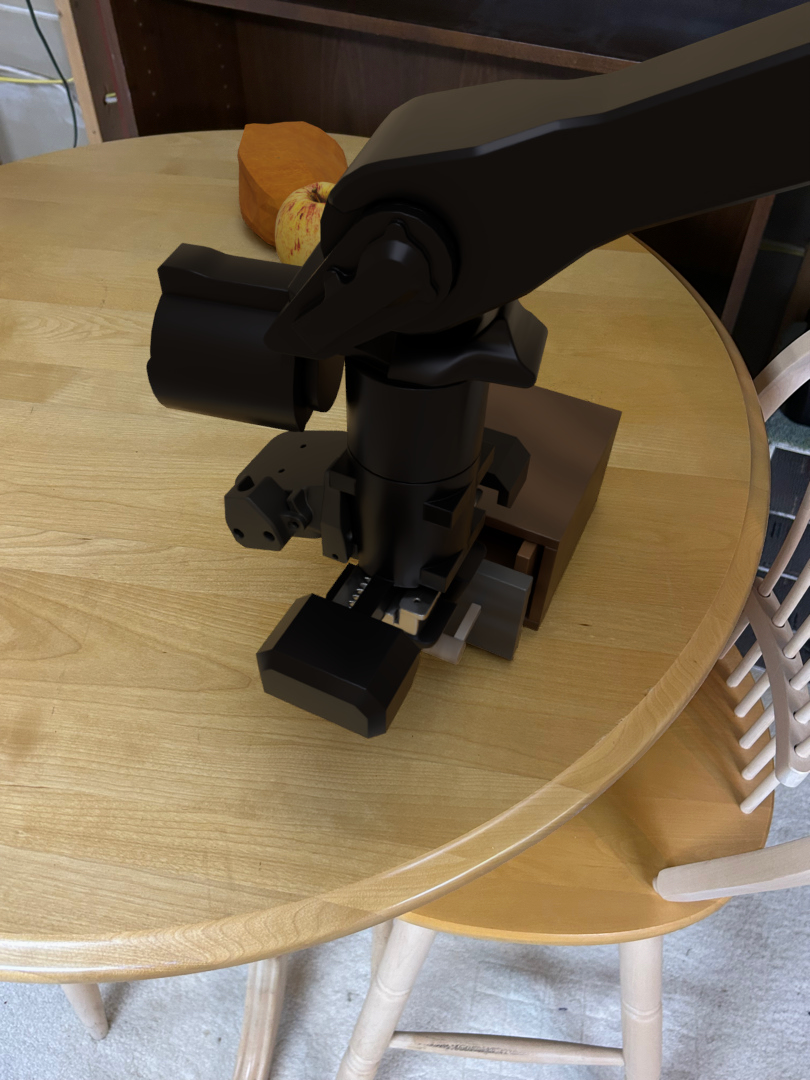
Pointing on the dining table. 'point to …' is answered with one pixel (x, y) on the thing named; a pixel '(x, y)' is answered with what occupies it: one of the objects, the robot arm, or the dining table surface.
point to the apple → (300, 223)
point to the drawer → (493, 599)
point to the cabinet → (550, 476)
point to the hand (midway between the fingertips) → (404, 653)
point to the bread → (282, 168)
